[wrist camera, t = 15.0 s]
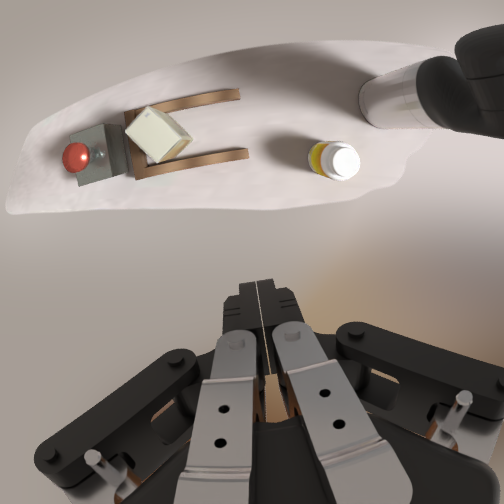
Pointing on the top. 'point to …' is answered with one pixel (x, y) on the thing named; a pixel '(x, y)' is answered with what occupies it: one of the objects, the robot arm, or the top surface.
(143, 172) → the rail
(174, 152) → the skincare box
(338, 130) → the top surface
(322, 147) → the supplement bottle
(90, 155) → the button
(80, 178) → the cabinet
